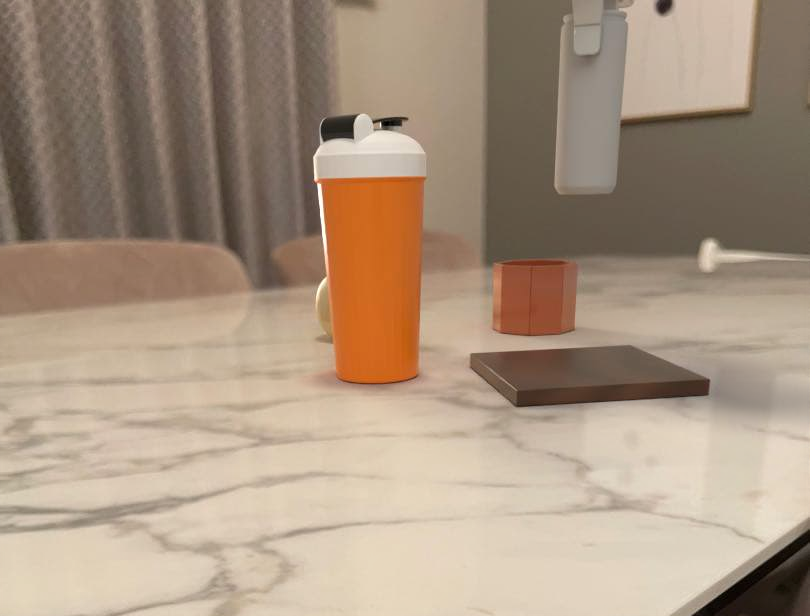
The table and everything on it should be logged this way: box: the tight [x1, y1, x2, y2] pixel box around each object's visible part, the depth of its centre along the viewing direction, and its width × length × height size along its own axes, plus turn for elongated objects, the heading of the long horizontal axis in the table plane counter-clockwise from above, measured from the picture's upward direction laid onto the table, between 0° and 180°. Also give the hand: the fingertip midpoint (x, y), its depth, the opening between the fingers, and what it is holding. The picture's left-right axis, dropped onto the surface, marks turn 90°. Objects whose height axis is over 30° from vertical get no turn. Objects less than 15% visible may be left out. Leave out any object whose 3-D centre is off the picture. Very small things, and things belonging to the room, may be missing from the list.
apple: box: [315, 276, 333, 338], centre depth 90 cm, size 8×8×8 cm
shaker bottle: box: [312, 113, 428, 384], centre depth 69 cm, size 9×9×20 cm
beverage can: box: [553, 10, 629, 196], centre depth 64 cm, size 5×5×12 cm
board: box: [469, 344, 711, 407], centre depth 69 cm, size 15×15×1 cm
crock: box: [492, 258, 579, 336], centre depth 92 cm, size 8×8×7 cm
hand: (593, 61), depth 63 cm, fingers closed on beverage can, 5 cm apart
